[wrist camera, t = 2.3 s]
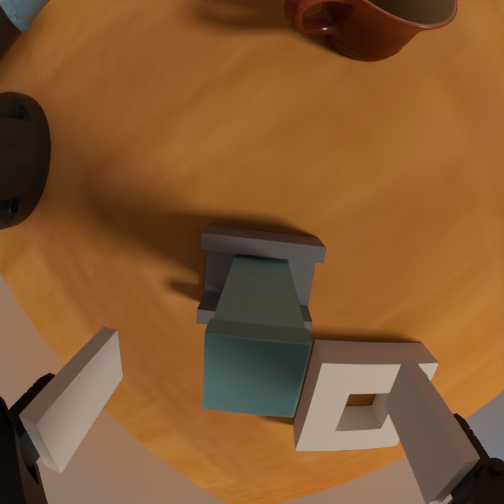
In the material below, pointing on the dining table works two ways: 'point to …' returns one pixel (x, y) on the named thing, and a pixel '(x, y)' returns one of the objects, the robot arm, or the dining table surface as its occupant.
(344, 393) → the port
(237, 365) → the plug
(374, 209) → the dining table surface
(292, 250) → the grey u-shaped block
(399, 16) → the mug
